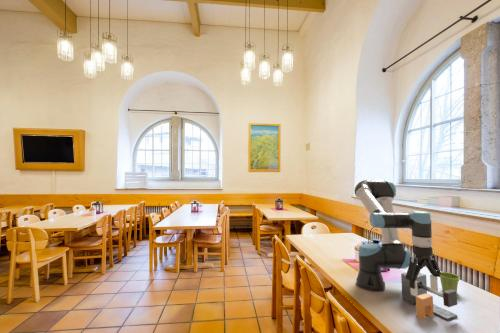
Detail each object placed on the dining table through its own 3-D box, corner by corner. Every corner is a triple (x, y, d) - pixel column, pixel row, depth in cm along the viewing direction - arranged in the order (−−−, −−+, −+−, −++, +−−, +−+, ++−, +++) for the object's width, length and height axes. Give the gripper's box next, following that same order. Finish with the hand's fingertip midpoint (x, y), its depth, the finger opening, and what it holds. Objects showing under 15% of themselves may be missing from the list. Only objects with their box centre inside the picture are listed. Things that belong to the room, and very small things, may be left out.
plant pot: (450, 287, 139) (449, 271, 140) (465, 295, 130) (464, 278, 130) (434, 287, 139) (433, 272, 139) (448, 295, 129) (447, 279, 130)
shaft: (415, 292, 121) (414, 280, 121) (423, 290, 123) (422, 278, 123) (448, 307, 107) (448, 293, 107) (457, 304, 109) (456, 290, 110)
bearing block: (402, 300, 125) (401, 273, 126) (415, 296, 129) (414, 270, 129) (445, 321, 107) (443, 290, 107) (459, 316, 110) (458, 286, 111)
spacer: (416, 316, 111) (415, 296, 111) (426, 313, 113) (425, 293, 114) (423, 319, 108) (422, 299, 108) (433, 316, 111) (432, 296, 111)
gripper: (411, 250, 104) (413, 301, 103) (448, 244, 113) (451, 291, 112) (395, 246, 111) (397, 294, 110) (431, 240, 120) (433, 284, 119)
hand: (424, 292), depth 111 cm, fingers open, 13 cm apart
